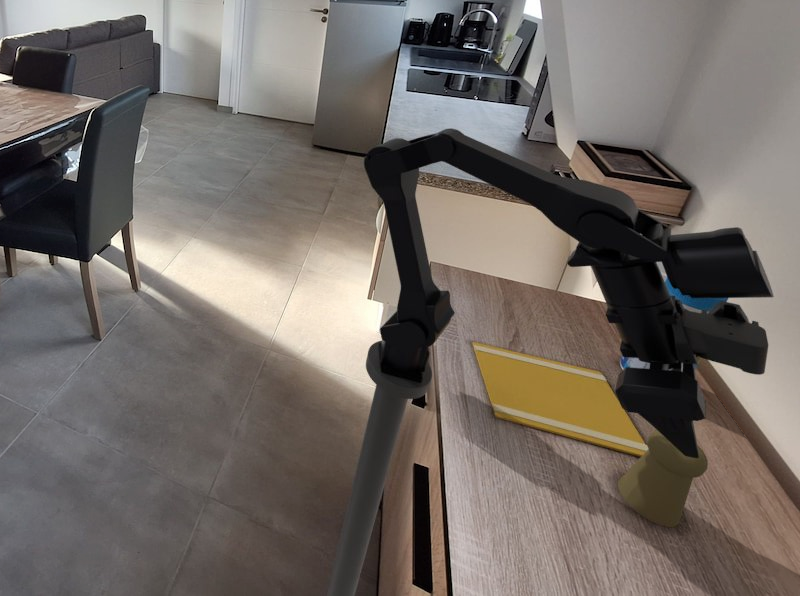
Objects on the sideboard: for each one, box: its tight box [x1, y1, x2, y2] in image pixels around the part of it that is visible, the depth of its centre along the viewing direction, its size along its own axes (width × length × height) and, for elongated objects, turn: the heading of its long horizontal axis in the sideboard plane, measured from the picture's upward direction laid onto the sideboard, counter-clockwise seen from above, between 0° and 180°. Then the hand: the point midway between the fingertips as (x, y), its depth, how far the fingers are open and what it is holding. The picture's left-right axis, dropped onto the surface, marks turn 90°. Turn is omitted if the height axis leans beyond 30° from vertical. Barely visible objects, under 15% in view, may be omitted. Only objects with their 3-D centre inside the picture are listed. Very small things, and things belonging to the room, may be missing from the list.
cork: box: [617, 429, 709, 528], centre depth 57 cm, size 6×6×11 cm
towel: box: [471, 341, 648, 458], centre depth 74 cm, size 20×16×1 cm
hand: (692, 429), depth 51 cm, fingers open, 9 cm apart
